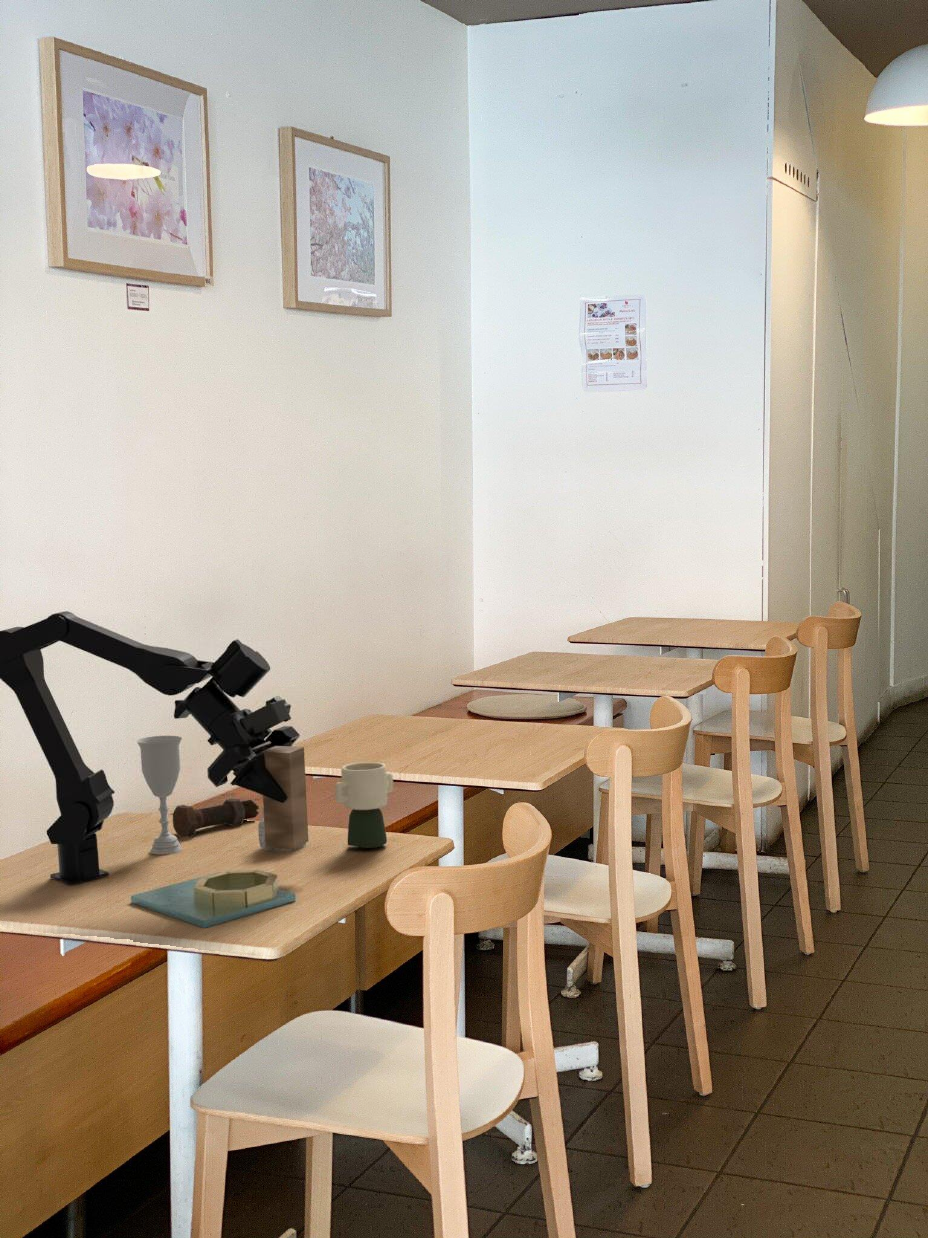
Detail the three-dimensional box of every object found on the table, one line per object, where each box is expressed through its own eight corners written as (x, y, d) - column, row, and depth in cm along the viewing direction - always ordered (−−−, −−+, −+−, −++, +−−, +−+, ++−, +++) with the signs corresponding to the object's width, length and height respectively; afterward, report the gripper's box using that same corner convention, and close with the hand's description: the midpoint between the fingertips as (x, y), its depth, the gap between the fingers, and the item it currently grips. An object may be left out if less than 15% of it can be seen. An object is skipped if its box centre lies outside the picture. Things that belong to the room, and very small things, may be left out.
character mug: (381, 836, 225) (378, 758, 224) (408, 844, 220) (404, 763, 219) (326, 850, 219) (321, 768, 217) (352, 858, 213) (347, 774, 212)
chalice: (197, 847, 223) (191, 737, 222) (167, 858, 218) (160, 745, 216) (164, 843, 227) (157, 734, 226) (134, 853, 222) (127, 741, 220)
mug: (279, 839, 227) (277, 799, 226) (314, 842, 224) (311, 802, 223) (243, 855, 218) (241, 813, 217) (279, 858, 215) (277, 816, 214)
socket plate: (131, 902, 194) (129, 881, 194) (220, 878, 205) (219, 858, 204) (204, 928, 181) (202, 905, 181) (295, 900, 192) (294, 879, 192)
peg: (265, 847, 200) (260, 752, 199) (280, 839, 205) (275, 746, 203) (294, 849, 199) (289, 753, 197) (308, 841, 203) (303, 747, 202)
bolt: (257, 830, 242) (183, 845, 231) (243, 812, 245) (169, 826, 234) (266, 803, 239) (192, 817, 229) (251, 786, 242) (177, 799, 232)
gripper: (221, 691, 192) (296, 772, 189) (284, 672, 210) (354, 747, 207) (175, 745, 196) (248, 826, 193) (241, 723, 213) (309, 796, 210)
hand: (293, 796), depth 201 cm, fingers closed on peg, 5 cm apart
